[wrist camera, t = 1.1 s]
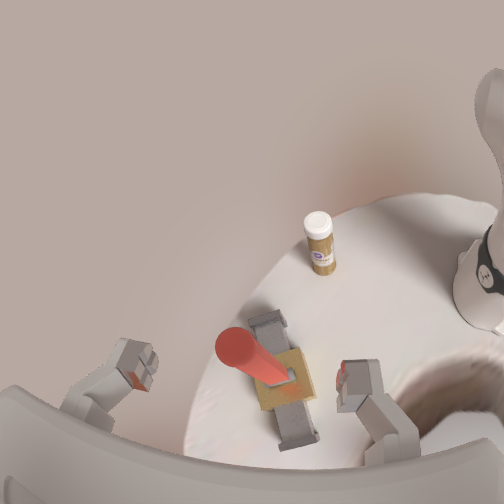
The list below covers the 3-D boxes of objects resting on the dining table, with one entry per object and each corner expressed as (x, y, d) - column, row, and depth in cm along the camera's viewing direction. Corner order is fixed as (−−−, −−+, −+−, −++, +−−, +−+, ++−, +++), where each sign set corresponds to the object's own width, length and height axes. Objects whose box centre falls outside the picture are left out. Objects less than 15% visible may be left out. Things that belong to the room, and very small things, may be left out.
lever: (291, 363, 39) (248, 314, 23) (297, 385, 37) (258, 354, 21) (263, 371, 39) (201, 329, 23) (269, 393, 37) (207, 368, 21)
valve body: (292, 318, 48) (286, 306, 44) (328, 436, 35) (326, 439, 30) (250, 332, 49) (240, 322, 45) (279, 449, 36) (271, 453, 31)
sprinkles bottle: (312, 276, 52) (301, 232, 41) (314, 255, 54) (303, 210, 44) (336, 276, 50) (331, 232, 40) (337, 256, 53) (332, 209, 42)
